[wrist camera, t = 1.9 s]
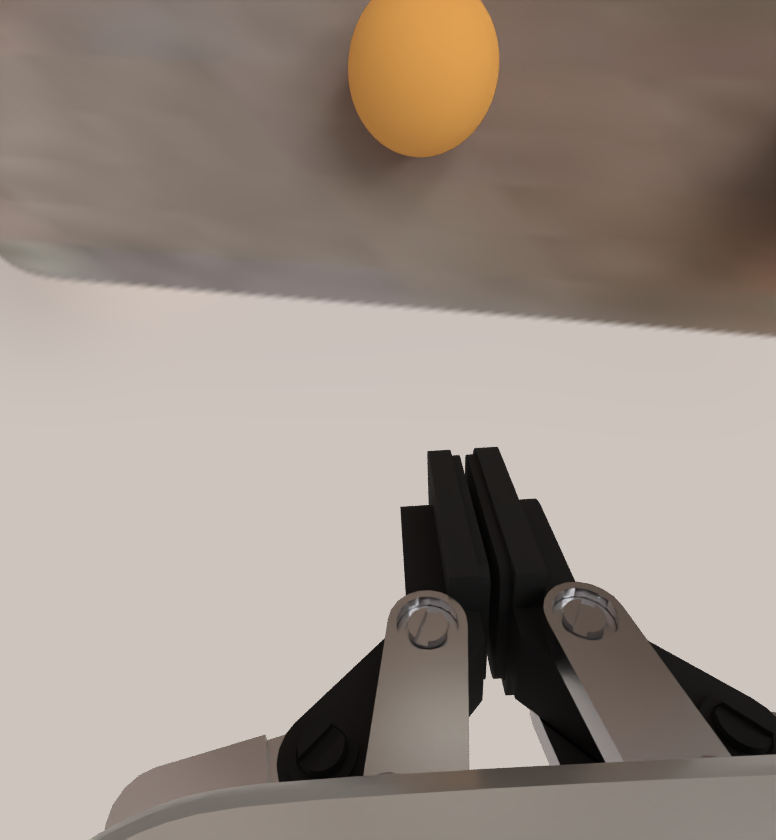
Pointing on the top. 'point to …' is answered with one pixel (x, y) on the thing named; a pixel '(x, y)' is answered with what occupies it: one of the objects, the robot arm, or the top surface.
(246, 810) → the robot arm
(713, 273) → the top surface
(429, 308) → the top surface
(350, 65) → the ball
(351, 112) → the top surface
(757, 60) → the top surface
